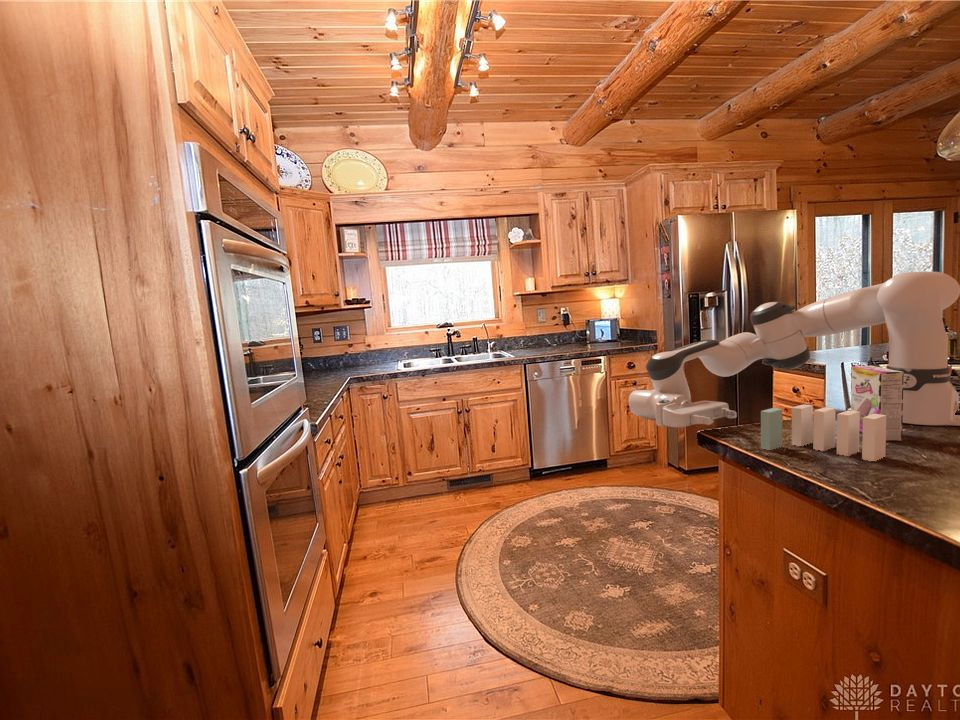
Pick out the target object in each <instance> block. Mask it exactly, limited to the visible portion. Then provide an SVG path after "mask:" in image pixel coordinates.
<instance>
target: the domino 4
mask: <svg viewBox="0 0 960 720" xmlns="http://www.w3.org/2000/svg"><path fill="white" fill-rule="evenodd" d="M836 416H837V417H836V420H837V421H836V455H838V454H839V456H842V455H844V456H843V457H847V456H848V457H850V456H852V454H853V455H856V454H857V452H858V453H859V452H860V412H858V411H851V409H850V410H849V409H848V410H845V411H843V412H840V413H837V415H836Z"/></svg>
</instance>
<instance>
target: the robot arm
mask: <svg viewBox="0 0 960 720" xmlns="http://www.w3.org/2000/svg"><path fill="white" fill-rule="evenodd" d="M959 297H960V284H959V282H958V281H957V280H956V278H954V277H952V276H951V275H949V274H947V273H943V272H941V271H909V272H908V271H907V272H903V273H900V274H899V273H898V274H897V275H895V276H893V277H891V278H889V279H887V280H886V281H885V282H882V283H878V284H875V285H870V286H866V287H865V286H864V287H860V288H858V289H857V288H856V289H854V290H850V291H847V292H844V293H840V294H836V295H834V296H829V297H827V298H822V299H820V300H818V301H815V302H812V303H810V304H807V305H805V306H803V307H801V308H799V309H797V310H795V309H796V308H797V307H796V306H795V305H794V304H793V305H790V304H788V303H786V302H783V301H771V302H770V301H769V302H765V303H763V304H760V305H759V306H757V307H756V308H755V309H754V310H752V311H751V313H750V316H749V317H750V323H751V325H752V326H753V329H754V332H755V333H752V332H748V331H746V332H741V333H736V334H734V335H732V336H729V337H727V338H725V339H723V340H721V341H718V340H716V339H702V340H699V341H695V342H692V343H689V344H686V345H683V346H680V347H677V348H674V349H670V350H667V351H666V350H665V351H662V352H657V353H654V354H653V355H651V356H650V358H649V359H648V361H647V363H646V366H645V368H646V371H647V374H648V376H649V378H650V380H651V384H652V388H653V389H650V390H649V389H637V390H632V392H631V393H630V394H629V396H628V406H629V410H630V412H631V413H632V414H633V415H635V416H637V417H639V418H642V419H645V420H649V421H655V424H656V426H658V427H672V428H685V427H689V426H690V427H691V426H693V425H706V426H710V425H712V424H714V420H717V419H720V418H726V419H737V414H738V413H737V412H736V410H731V409H730V408H729V405H730V404H729V403H727V402H725V401H715V400H700V401H695V402H693V401H692V396H691V395H692V394H691V391H690V387H689V383H688V380H687V377H686V374H685V370H684V365H685V363H686V362H688V361H689V362H690V361H691V360H695V359H697V358H698V359H699V360H700V361H701V362H702V364H703V366H704V367H705V368H706V369H707V370H708V371H709V372H710V373H712V374H713V375H716V376H718V377H722V378H723V377H724V378H725V377H730V376H731V377H732V376H734V375H737V374H738V373H740V372H741V371H743V370H745V369H746V368H747V367H749V366H750V365H751V364H753V363H755V362H756V361H758V360H762V359H764V360H763V362H762V364H764V365H765V366H771V367H773V368H775V369H778V370H782V371H784V370H785V371H787V370H792V369H793V370H794V369H797V368H799V367H802V366H803V365H805V364H806V363H808V361H809V360H810V359H811V352H810V348H809V347H808V346H807V343H806V341H805V338H812V337H813V338H815V337H823V336H830V335H831V336H832V335H836V334H841V333H845V332H850V331H855V330H859V329H864V328H868V327H872V326H876V325H877V326H878V325H883V324H886V330H887V335H888V365H887V366H886V369H891V370H896V371H901V372H904V380H903V422H902V424H909V425H920V426H922V425H923V426H957V427H958V426H959V427H960V416H956V415H955V413H956V411H957V410H958V411H959V410H960V405H959V403H960V402H959V400H960V395H959V392H957V390H956V389H955V387H954V386H953V385H952V384H951V382H950V381H952V378H951V375H952V370H953V368H952V367H951V366H948V361H949V360H948V358H949V356H948V355H949V354H948V353H949V335H948V333H947V331H946V328H945V324H944V321H943V316H942V311H944V310H946V309H947V308H949V307H950V306H952V305H953V304H954V303H955V302H956V301H957V300H958V299H959ZM793 310H795V311H793Z"/></svg>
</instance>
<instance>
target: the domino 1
mask: <svg viewBox="0 0 960 720" xmlns="http://www.w3.org/2000/svg"><path fill="white" fill-rule="evenodd" d="M781 446H782V447H783V408H777V407H771V408H767V409H764V410H760V449H761V448H762V449H761V450H763V449H766V450H765V451H767V450H772V451H774V450H773V449H775V450H777V449H780V448H782V447H781ZM779 447H780V448H779ZM776 448H777V449H776Z"/></svg>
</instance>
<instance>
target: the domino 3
mask: <svg viewBox="0 0 960 720" xmlns="http://www.w3.org/2000/svg"><path fill="white" fill-rule="evenodd" d="M812 444H813V446H812V447H813V449H812V450H814V449H815V450H814V451H818V450H820V451H819V452H823V451H824V452H825V451H828V449H829V450H832V449H833V448H835V447H836V407H835V408H834V407H828V406H827V407H826V406H825V407H822V408H821V407H820V408H818V409H813V443H812ZM831 448H832V449H831Z"/></svg>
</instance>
